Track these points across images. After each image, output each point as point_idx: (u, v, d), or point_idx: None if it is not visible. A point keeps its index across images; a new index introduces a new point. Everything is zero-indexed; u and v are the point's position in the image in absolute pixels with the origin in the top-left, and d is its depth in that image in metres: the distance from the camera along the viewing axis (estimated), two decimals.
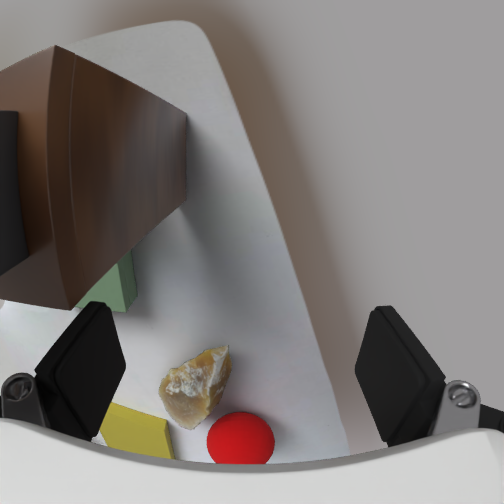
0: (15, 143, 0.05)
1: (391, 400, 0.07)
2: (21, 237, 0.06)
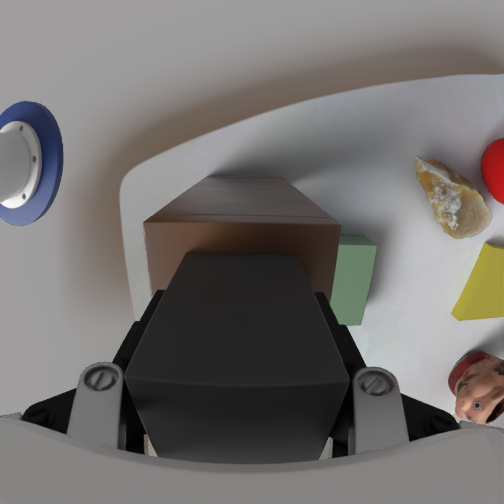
0: (210, 253, 0.11)
1: None
2: (280, 255, 0.11)
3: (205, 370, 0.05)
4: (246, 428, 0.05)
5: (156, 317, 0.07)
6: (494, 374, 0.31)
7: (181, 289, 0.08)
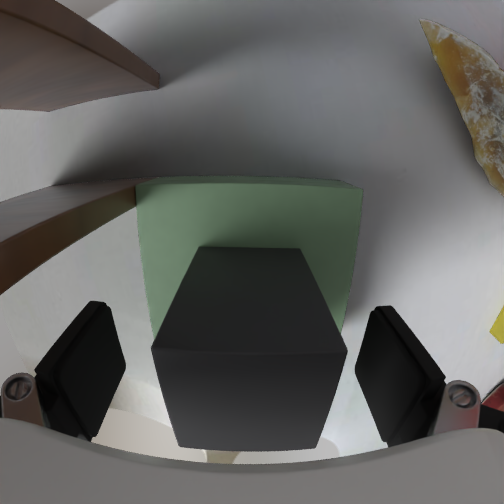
0: (221, 247, 0.12)
1: (390, 400, 0.07)
2: (285, 249, 0.12)
3: (223, 342, 0.06)
4: (257, 396, 0.06)
5: (176, 300, 0.08)
6: None
7: (197, 277, 0.09)
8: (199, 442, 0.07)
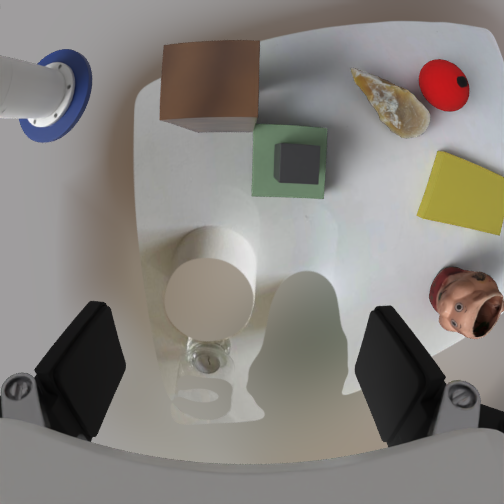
0: None
1: (390, 400, 0.07)
2: None
3: None
4: (302, 157, 0.30)
5: (279, 143, 0.31)
6: (472, 280, 0.38)
7: None
8: (286, 178, 0.31)
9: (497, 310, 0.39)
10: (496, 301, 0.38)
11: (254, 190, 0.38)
